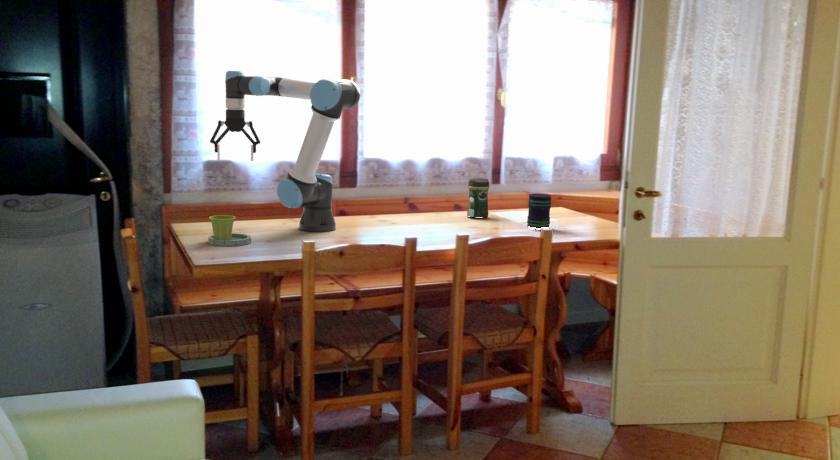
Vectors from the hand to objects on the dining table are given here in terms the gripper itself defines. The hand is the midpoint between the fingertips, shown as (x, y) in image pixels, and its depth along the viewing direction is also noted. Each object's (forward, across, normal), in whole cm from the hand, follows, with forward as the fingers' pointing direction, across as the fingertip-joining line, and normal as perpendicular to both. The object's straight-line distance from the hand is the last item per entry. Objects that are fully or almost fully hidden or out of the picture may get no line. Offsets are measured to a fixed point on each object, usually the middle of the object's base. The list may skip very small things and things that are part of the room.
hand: (235, 160), depth 338 cm
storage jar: (+27, -129, +19) cm, 133 cm away
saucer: (+27, +3, +40) cm, 48 cm away
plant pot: (+26, +6, +40) cm, 48 cm away
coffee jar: (+27, -111, -12) cm, 115 cm away
